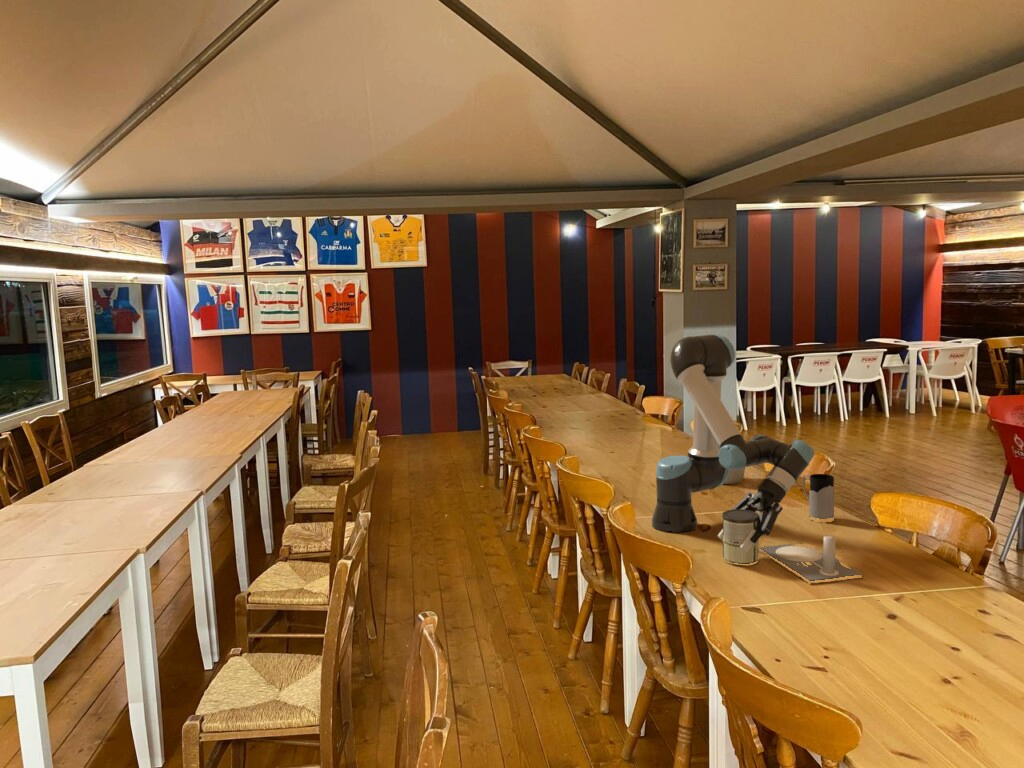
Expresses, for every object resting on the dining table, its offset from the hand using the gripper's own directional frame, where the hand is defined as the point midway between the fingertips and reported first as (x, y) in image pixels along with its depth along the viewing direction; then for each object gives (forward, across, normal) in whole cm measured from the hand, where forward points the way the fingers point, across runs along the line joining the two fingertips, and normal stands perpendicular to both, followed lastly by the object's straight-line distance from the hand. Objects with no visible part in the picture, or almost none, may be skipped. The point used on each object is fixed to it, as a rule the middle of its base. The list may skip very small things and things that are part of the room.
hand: (731, 544), depth 217 cm
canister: (-34, +77, -42) cm, 95 cm away
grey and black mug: (-33, +23, -41) cm, 57 cm away
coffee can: (+2, 0, -6) cm, 6 cm away
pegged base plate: (-9, -11, -17) cm, 22 cm away
